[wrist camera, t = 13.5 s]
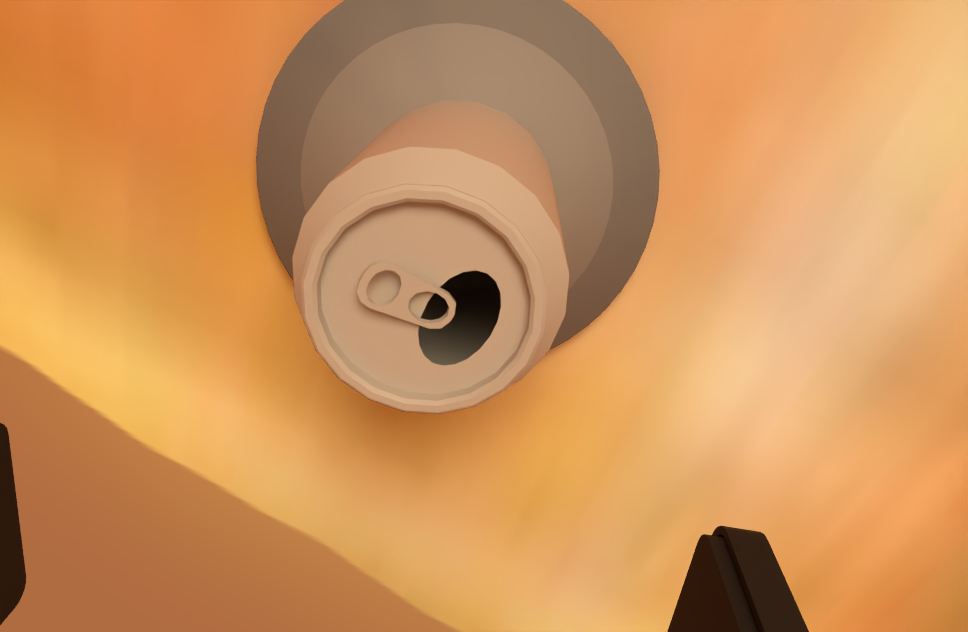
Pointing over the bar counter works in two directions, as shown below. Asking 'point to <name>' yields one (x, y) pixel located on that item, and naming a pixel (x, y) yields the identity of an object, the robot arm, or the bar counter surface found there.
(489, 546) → the bar counter surface
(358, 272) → the can
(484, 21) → the dish
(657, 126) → the bar counter surface
